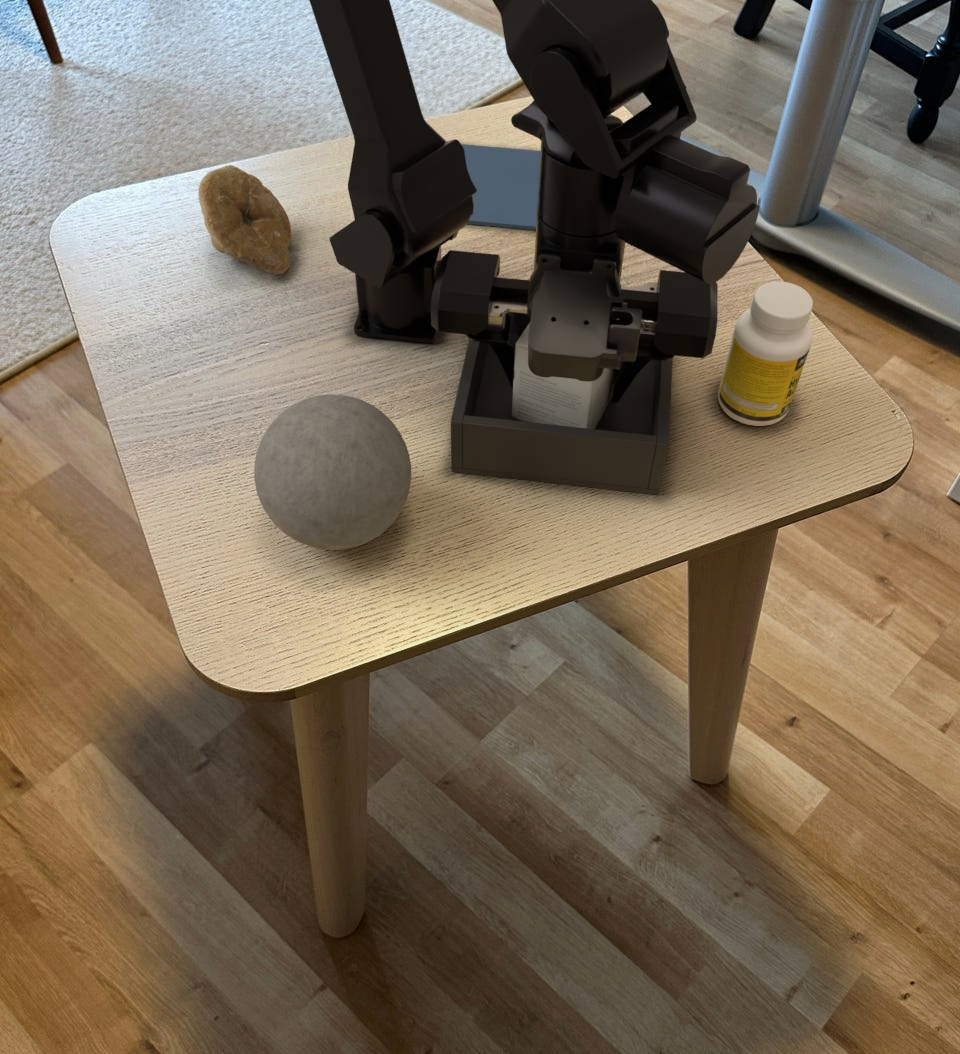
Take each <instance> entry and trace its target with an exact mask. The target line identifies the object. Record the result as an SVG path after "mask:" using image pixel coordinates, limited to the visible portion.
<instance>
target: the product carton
mask: <svg viewBox="0 0 960 1054" xmlns="http://www.w3.org/2000/svg"><path fill="white" fill-rule="evenodd" d="M609 325H610V324H609ZM529 328H530V323H529V324H528V326H527V327H526V329H525V330H524V332H523V333H522V335H521V336H520V338H519V339H518V341H517V342H516V344H515V365H514V381H513V400H512V417H513V418H515V419H517V420H520V421H523V422H532V423H542V424H551V425H560V426H569V427H578V428H588V429H595V428H596V426H597V424H598V422H599V421H600V419H601V417H602V415H603V413H604V411H605V410H606V408H607V406H608V404H609V402H610V400H611V398H612V394H613V386H614V379H615V373H616V369H607V368H604V370H603V373H602V375H601V376H600V377H599V378H598V379H597V380H594V381H590V382H586V381H579V380H578V379H571V378H561V377H548V378H547V377H539V376H537V375H535V374H533V373H532V372H531V371H530V369H529V366H528V335H529ZM608 334H609V333H608ZM607 343H608V342H607Z"/></svg>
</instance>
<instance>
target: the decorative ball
mask: <svg viewBox="0 0 960 1054" xmlns="http://www.w3.org/2000/svg"><path fill="white" fill-rule="evenodd" d="M253 468H254V469H253V470H254V472H253V473H254V486H255V491H256V494H257V497H258V499H259V502H260V504H261V507H262V508H263V511H264V512H265V514H266V515H267V517H268V518H269V519H270V520H271V521H272V523H273V524H274V525H275V526H276V527H277V528H278V530H280V531H281V532H282V533H284V534H285V535H286V536H287V537H289V538H290V539H292V540H294V541H296V542H297V543H299V544H302V545H305V546H307V547H310V548H314V549H318V550H323V551H325V550H327V551H342V550H348V549H353V548H356V547H360V546H362V545H365V544H367V543H369V542H371V541H373V540H375V539H377V538H378V537H379V536H380V535H382V534H384V532H385V531H387V530H388V529H389V527H391V526H392V524H393V523H394V522H395V521H396V520H397V518H398V517H399V515H400V514H401V512H402V511H403V508H404V506H405V505H406V502H407V499H408V496H409V494H410V493H409V492H410V489H411V483H412V462H411V458H410V453H409V450H408V447H407V444H406V441H405V440H404V438H403V435H402V434H401V432H400V430H399V429H398V427H397V426H396V425H395V423H394V422H392V420H391V419H390V417H388V416H387V415H386V414H385V413H384V412H383V411H382V410H380V409H379V408H378V407H376V406H374V405H373V404H371V403H369V402H367V401H365V400H362V399H360V398H357V397H353V396H349V395H346V394H345V395H344V394H331V393H329V394H319V395H314V396H310V397H307V398H304V399H302V400H300V401H297V402H295V403H294V404H291V405H290V406H289V407H287V408H285V409H284V410H283V411H282V412H280V413H279V414H278V415H277V417H275V419H273V420H272V422H271V423H270V424H269V426H268V427H267V429H266V430H265V432H264V433H263V436H262V437H261V439H260V442H259V444H258V447H257V450H256V454H255V460H254V467H253Z"/></svg>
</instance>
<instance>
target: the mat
mask: <svg viewBox="0 0 960 1054" xmlns="http://www.w3.org/2000/svg"><path fill="white" fill-rule="evenodd" d="M461 145H462V146H463V148H464V152H465V159H466V165H467V170H468V173H469V175H470V178H471V180H472V182H473V184H474V186H475V188H476V189H477V192H476V193H475V194H473V195H472V198H473V205H474V208H473V215H471V216H470V219H469V221H468V223H467V225H475V226H485V227H486V226H487V227H497V228H508V229H517V230H527V231H536V222H537V207H538V188H539V171H540V153H541V150H533V149H524V148H523V149H522V148H510V147H508V148H507V147H501V146H500V147H497V146H486V145H475V144H466V143H465V144H464V143H461Z"/></svg>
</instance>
